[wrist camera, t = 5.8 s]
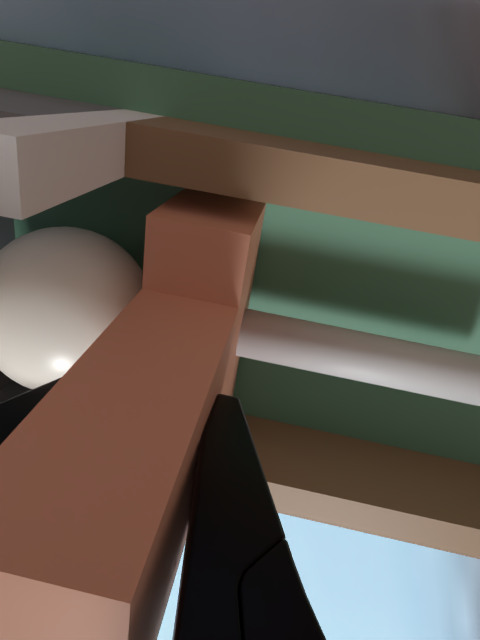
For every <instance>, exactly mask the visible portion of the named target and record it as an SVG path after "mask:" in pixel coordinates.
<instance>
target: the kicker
mask: <svg viewBox="0 0 480 640" xmlns="http://www.w3.org/2000/svg"><path fill="white" fill-rule="evenodd" d="M265 209H266V203H263V202H258V201H253V200H247V199H242V198H236V197H231V196H225V195H220V194H215V193H209V192H204V191H198V190H193V189H187V188H185V189H183V190H182V191H180V192H179V193H178V194H176V195H175V196H173V197H172V198H170V199H169V200H168V201H166V202H165V203H163V204H162V205H161V206H159V207H158V208H156V209H155V210H153V211H152V212H151V213H149V214H148V215H146V228H145V246H144V264H143V282H142V289H141V290H140V291H139V293H138V294H137V295H136V296H135V297H134V298H133V299H132V300H131V301H130V302H129V304H128V305H127V306H126V307H125V308H124V309H123V310H122V311H121V312H120V314H119V315H118V316H117V317H116V318H115V319H114V320H113V321H112V322H111V323H110V325H109V326H108V327H107V328H106V329H105V330H104V331H103V332H102V333H101V335H100V336H99V337H98V338H97V339H96V340H95V341H94V342H93V343H92V344H91V346H90V347H89V348H88V349H87V350H86V351H85V352H84V353H83V354H82V356H81V357H80V358H79V359H78V360H77V361H76V362H75V363H74V364H73V365H72V367H71V368H70V369H69V370H68V371H67V372H66V373H65V374H64V375H63V376H62V378H61V379H60V380H59V381H58V382H57V383H56V384H55V385H54V386H53V388H52V389H51V390H50V391H49V392H48V393H47V394H46V395H45V396H44V397H43V399H42V400H41V401H40V402H39V403H38V404H37V405H36V406H35V407H34V409H33V410H32V411H31V412H30V413H29V414H28V415H27V416H26V417H25V418H24V420H23V421H22V422H21V423H20V424H19V425H18V426H17V427H16V428H15V429H14V431H13V432H12V433H11V434H10V435H9V436H8V437H7V438H6V439H5V441H4V442H3V443H2V444H1V445H0V640H157V637H158V633H159V630H160V626H161V623H162V620H163V616H164V613H165V609H166V606H167V603H168V599H169V596H170V592H171V589H172V586H173V582H174V579H175V575H176V572H177V569H178V565H179V562H180V559H181V555H182V552H183V548H184V545H185V542H186V537H187V530H188V523H189V516H190V509H191V502H192V495H193V488H194V481H195V474H196V467H197V460H198V453H199V446H200V440H201V435H202V432H203V429H204V427H205V424H206V422H207V419H208V417H209V414H210V412H211V409H212V407H213V404H214V401H215V399H216V396H217V395H218V394H225V395H229V396H233V393H234V387H235V381H236V376H237V370H238V364H239V358H240V357H245V358H250V359H255V360H259V361H264V362H269V363H274V364H279V365H284V366H288V367H293V368H298V369H303V370H308V371H312V372H317V373H322V374H327V375H332V376H337V377H341V378H346V379H351V380H356V381H361V382H366V383H370V384H375V385H380V386H385V387H390V388H394V389H399V390H404V391H409V392H414V393H419V394H423V395H428V396H433V397H438V398H443V399H447V400H452V401H457V402H462V403H467V404H472V405H476V406H480V355H477V354H472V353H467V352H462V351H457V350H452V349H447V348H442V347H437V346H432V345H427V344H422V343H417V342H412V341H407V340H402V339H397V338H392V337H387V336H382V335H377V334H372V333H367V332H362V331H357V330H352V329H347V328H342V327H337V326H332V325H327V324H322V323H317V322H312V321H307V320H302V319H297V318H292V317H287V316H282V315H277V314H272V313H267V312H262V311H257V310H252V309H248V307H249V301H250V295H251V289H252V283H253V278H254V272H255V266H256V260H257V255H258V249H259V243H260V237H261V232H262V226H263V220H264V214H265Z"/></svg>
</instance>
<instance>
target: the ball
mask: <svg viewBox="0 0 480 640" xmlns="http://www.w3.org/2000/svg"><path fill="white" fill-rule="evenodd" d="M142 282H143V271H142V270H141V268H140V267H139V265H138V264H137V262H136V261H135V260H134V258H133V257H132V256H131V255H130V254H129V253H128V252H127V251H126V250H124V249H123V248H122V247H121V246H120V245H119V244H117V243H115V242H114V241H112V240H111V239H109V238H107V237H105V236H103V235H101V234H98V233H96V232H93V231H90V230H86V229H82V228H77V227H67V226H63V227H48V228H43V229H38V230H35V231H33V232H30V233H27V234H24V235H22V236H20V237H18V238H16V239H14V240H13V241H11V242H10V243H9V244H7V245H6V246H5V247H3V248H2V249H1V250H0V371H1V372H3V373H4V374H5V375H6V376H8V377H9V378H10V379H12V380H13V381H15V382H17V383H19V384H20V385H22V386H25V387H27V388H30V389H34V388H37V387H39V386H42V385H44V384H46V383H49V382H51V381H53V380H56V379H58V378H61V377H62V376H63V375H64V374H65V373H66V372H67V371H68V370H69V369H70V368H71V367H72V365H73V364H74V363H75V362H76V361H77V360H78V359H79V358H80V357H81V356H82V354H83V353H84V352H85V351H86V350H87V349H88V348H89V347H90V346H91V344H92V343H93V342H94V341H95V340H96V339H97V338H98V337H99V336H100V335H101V333H102V332H103V331H104V330H105V329H106V328H107V327H108V326H109V325H110V323H111V322H112V321H113V320H114V319H115V318H116V317H117V316H118V315H119V314H120V312H121V311H122V310H123V309H124V308H125V307H126V306H127V305H128V304H129V302H130V301H131V300H132V299H133V298H134V297H135V296H136V295H137V294H138V293H139V291H140V290H141V289H142Z"/></svg>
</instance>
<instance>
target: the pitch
mask: <svg viewBox="0 0 480 640" xmlns="http://www.w3.org/2000/svg"><path fill="white" fill-rule="evenodd" d="M185 188H187V189H193V190H198V191H204V192H209V193H215V194H220V195H225V196H231V197H236V198H242V199H247V200H253V201H258V202H263V203H266V209H265V214H264V220H263V226H262V232H261V237H260V243H259V249H258V255H257V260H256V266H255V272H254V278H253V283H252V289H251V295H250V301H249V307H248V309H252V310H257V311H262V312H267V313H272V314H277V315H282V316H287V317H292V318H297V319H302V320H307V321H312V322H317V323H322V324H327V325H332V326H337V327H342V328H347V329H352V330H357V331H362V332H367V333H372V334H377V335H382V336H387V337H392V338H397V339H402V340H407V341H412V342H417V343H422V344H427V345H432V346H437V347H442V348H447V349H452V350H457V351H462V352H467V353H472V354H477V355H480V120H479V119H473V118H467V117H461V116H455V115H449V114H443V113H437V112H431V111H425V110H419V109H413V108H407V107H400V106H394V105H388V104H382V103H376V102H370V101H364V100H358V99H352V98H346V97H340V96H334V95H328V94H322V93H316V92H310V91H304V90H298V89H292V88H286V87H280V86H274V85H268V84H262V83H256V82H250V81H244V80H238V79H232V78H226V77H220V76H214V75H208V74H202V73H196V72H190V71H184V70H178V69H172V68H166V67H160V66H154V65H148V64H142V63H136V62H130V61H124V60H118V59H112V58H106V57H100V56H94V55H88V54H82V53H76V52H70V51H64V50H58V49H52V48H46V47H40V46H34V45H28V44H22V43H15V42H9V41H3V40H0V250H1V249H2V248H3V247H5V246H6V245H7V244H9V243H10V242H11V241H13V240H14V239H16V238H18V237H20V236H22V235H24V234H27V233H30V232H33V231H35V230H38V229H43V228H48V227H63V226H67V227H77V228H82V229H86V230H90V231H93V232H96V233H98V234H101V235H103V236H105V237H107V238H109V239H111V240H112V241H114V242H115V243H117V244H119V245H120V246H121V247H122V248H123V249H124V250H126V251H127V252H128V253H129V254H130V255H131V256H132V257H133V258H134V260H135V261H136V262H137V264H138V265H139V267H140V268H141V270H142V271H143V264H144V246H145V228H146V215H148V214H149V213H151V212H152V211H153V210H155V209H156V208H158V207H159V206H161V205H162V204H163V203H165V202H166V201H168V200H169V199H170V198H172V197H173V196H175V195H176V194H178V193H179V192H180V191H182V190H183V189H185ZM30 390H32V389H30V388H27V387H25V386H22V385H20V384H19V383H17V382H15V381H13V380H12V379H10V378H9V377H8V376H6V375H5V374H4V373H3V372H1V371H0V403H1V402H4V401H6V400H8V399H11V398H13V397H15V396H18V395H20V394H23V393H25V392H27V391H30ZM233 396H234V397H238V398H239V400H240V402H241V405H242V408H243V411H244V414H245V417H246V420H247V423H248V426H249V429H250V432H251V435H252V438H253V441H254V444H255V447H256V450H257V453H258V456H259V459H260V462H261V465H262V468H263V471H264V474H265V477H266V480H267V483H268V486H269V489H270V492H271V495H272V498H273V501H274V504H275V507H276V510H277V512H278V513H282V514H286V515H291V516H295V517H299V518H304V519H308V520H312V521H317V522H321V523H325V524H330V525H334V526H339V527H343V528H347V529H352V530H356V531H360V532H365V533H369V534H373V535H378V536H382V537H386V538H391V539H395V540H400V541H404V542H408V543H413V544H417V545H421V546H426V547H430V548H434V549H439V550H443V551H447V552H452V553H456V554H461V555H465V556H469V557H474V558H478V559H480V406H476V405H472V404H467V403H462V402H457V401H452V400H447V399H443V398H438V397H433V396H428V395H423V394H419V393H414V392H409V391H404V390H399V389H394V388H390V387H385V386H380V385H375V384H370V383H366V382H361V381H356V380H351V379H346V378H341V377H337V376H332V375H327V374H322V373H317V372H312V371H308V370H303V369H298V368H293V367H288V366H284V365H279V364H274V363H269V362H264V361H259V360H255V359H250V358H245V357H240V358H239V364H238V370H237V376H236V381H235V387H234V393H233Z"/></svg>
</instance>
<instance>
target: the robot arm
mask: <svg viewBox="0 0 480 640" xmlns="http://www.w3.org/2000/svg"><path fill="white" fill-rule="evenodd" d="M61 378H62V377H61ZM61 378H58V379H56V380H53V381H51V382H49V383H46V384H44V385H42V386H39V387H37V388H34V389H32V390H30V391H27V392H25V393H23V394H20V395H18V396H15V397H13V398H11V399H8V400H6V401H4V402H1V403H0V445H1V444H2V443H3V442H4V441H5V439H6V438H7V437H8V436H9V435H10V434H11V433H12V432H13V431H14V429H15V428H16V427H17V426H18V425H19V424H20V423H21V422H22V421H23V420H24V418H25V417H26V416H27V415H28V414H29V413H30V412H31V411H32V410H33V409H34V407H35V406H36V405H37V404H38V403H39V402H40V401H41V400H42V399H43V397H44V396H45V395H46V394H47V393H48V392H49V391H50V390H51V389H52V388H53V386H54V385H55V384H56V383H57V382H58V381H59V380H60V379H61ZM172 640H326V638H325V636H324V634H323V632H322V629H321V627H320V625H319V623H318V620H317V618H316V616H315V614H314V611H313V609H312V607H311V605H310V602H309V600H308V598H307V595H306V593H305V590H304V587H303V585H302V582H301V579H300V577H299V574H298V571H297V569H296V566H295V563H294V560H293V557H292V554H291V551H290V548H289V545H288V542H287V541H286V540H285V534H284V531H283V528H282V525H281V522H280V519H279V516H278V513H277V510H276V507H275V504H274V501H273V498H272V495H271V492H270V489H269V486H268V483H267V480H266V477H265V474H264V471H263V468H262V465H261V462H260V459H259V456H258V453H257V450H256V447H255V444H254V441H253V438H252V435H251V432H250V429H249V426H248V423H247V420H246V417H245V414H244V411H243V408H242V405H241V402H240V400H239V398H238V397H234V396H229V395H225V394H218V395H217V396H216V399H215V401H214V404H213V407H212V409H211V412H210V414H209V417H208V419H207V422H206V424H205V427H204V429H203V432H202V435H201V440H200V446H199V453H198V460H197V467H196V474H195V481H194V488H193V495H192V502H191V509H190V516H189V523H188V530H187V537H186V544H185V551H184V559H183V566H182V573H181V580H180V588H179V595H178V602H177V610H176V617H175V624H174V631H173V639H172Z"/></svg>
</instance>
